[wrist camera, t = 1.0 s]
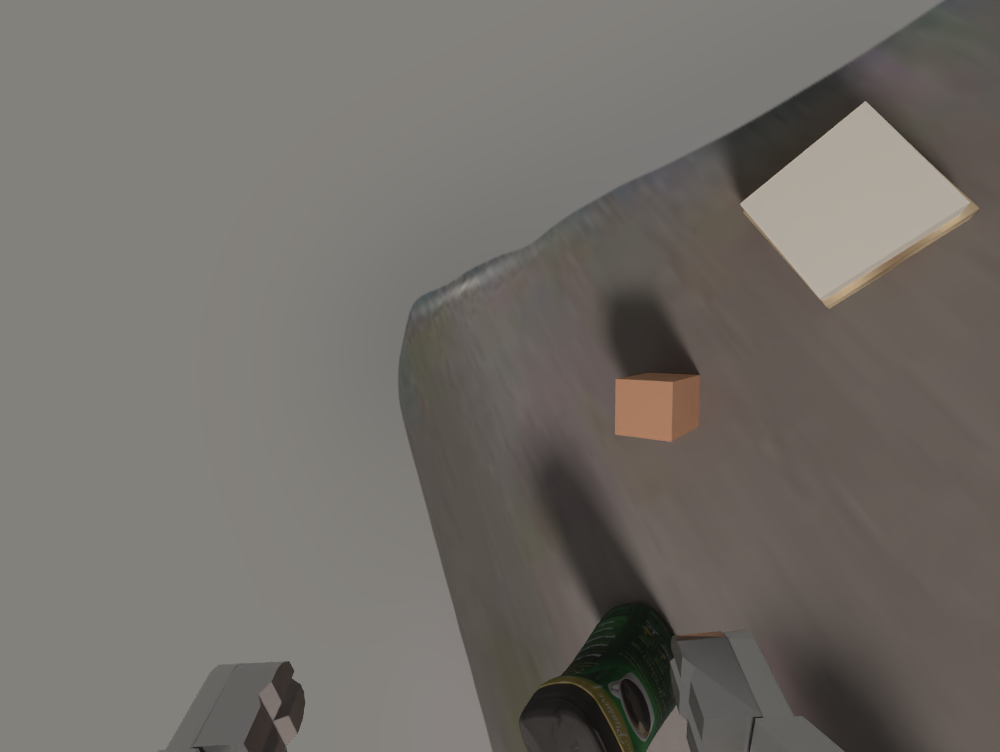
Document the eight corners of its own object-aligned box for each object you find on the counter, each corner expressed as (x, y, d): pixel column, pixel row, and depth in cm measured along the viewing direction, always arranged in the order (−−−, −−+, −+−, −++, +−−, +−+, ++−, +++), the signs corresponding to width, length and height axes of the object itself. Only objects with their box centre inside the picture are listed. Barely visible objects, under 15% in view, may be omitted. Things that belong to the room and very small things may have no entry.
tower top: (865, 122, 34) (865, 100, 31) (959, 215, 32) (970, 202, 29) (749, 214, 39) (739, 203, 36) (823, 301, 37) (819, 298, 34)
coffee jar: (595, 610, 55) (494, 712, 40) (654, 593, 50) (565, 701, 36) (638, 698, 52) (547, 841, 38) (704, 689, 48) (630, 846, 33)
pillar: (700, 374, 46) (672, 381, 40) (698, 426, 47) (671, 441, 40) (648, 372, 49) (615, 378, 43) (647, 421, 50) (615, 434, 43)
